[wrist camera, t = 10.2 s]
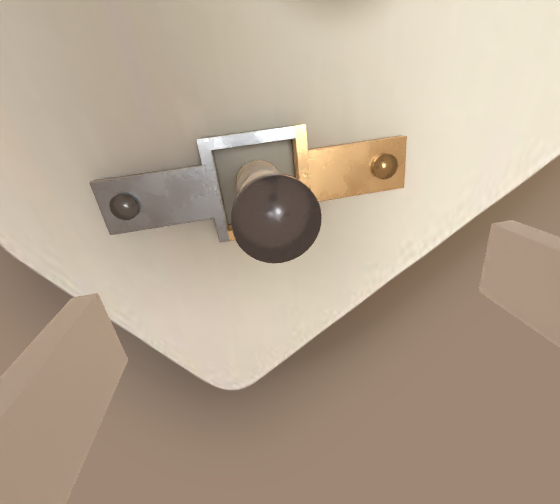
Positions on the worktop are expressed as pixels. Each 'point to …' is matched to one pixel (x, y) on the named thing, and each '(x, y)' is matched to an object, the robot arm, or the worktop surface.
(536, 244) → the robot arm
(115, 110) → the worktop surface
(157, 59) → the worktop surface
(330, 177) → the link plate bronze
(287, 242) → the pin
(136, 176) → the link plate steel
